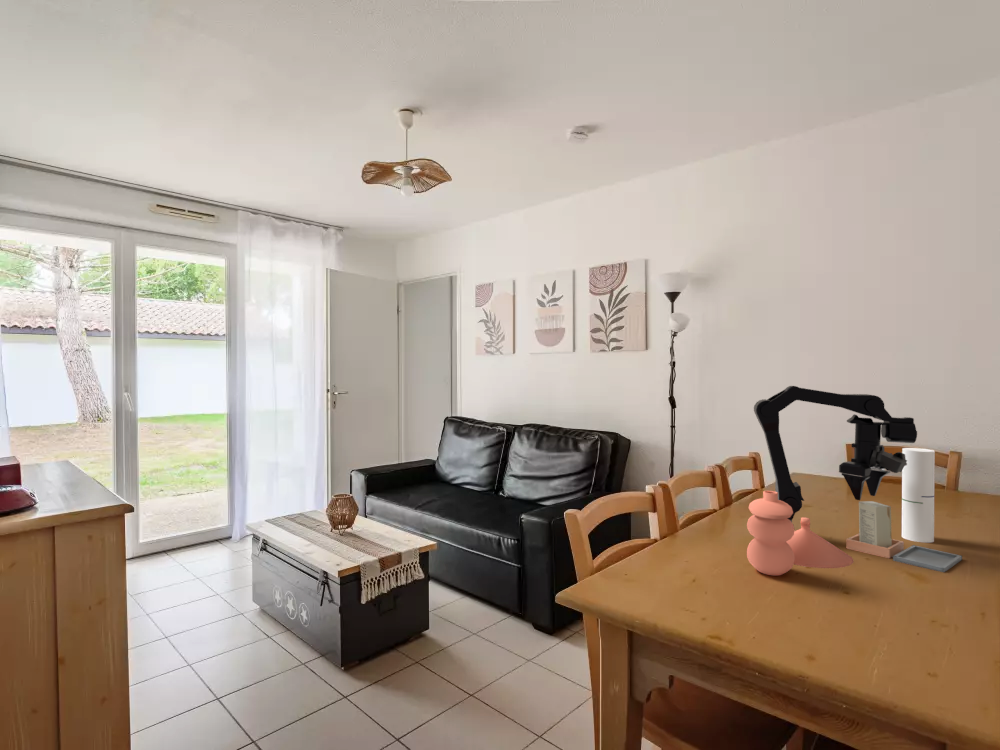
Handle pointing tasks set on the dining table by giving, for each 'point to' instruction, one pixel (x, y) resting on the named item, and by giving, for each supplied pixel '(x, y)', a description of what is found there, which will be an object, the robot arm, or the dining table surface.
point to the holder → (874, 547)
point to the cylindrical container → (918, 495)
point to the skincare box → (875, 524)
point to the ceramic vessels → (786, 540)
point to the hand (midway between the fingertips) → (865, 497)
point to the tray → (927, 558)
